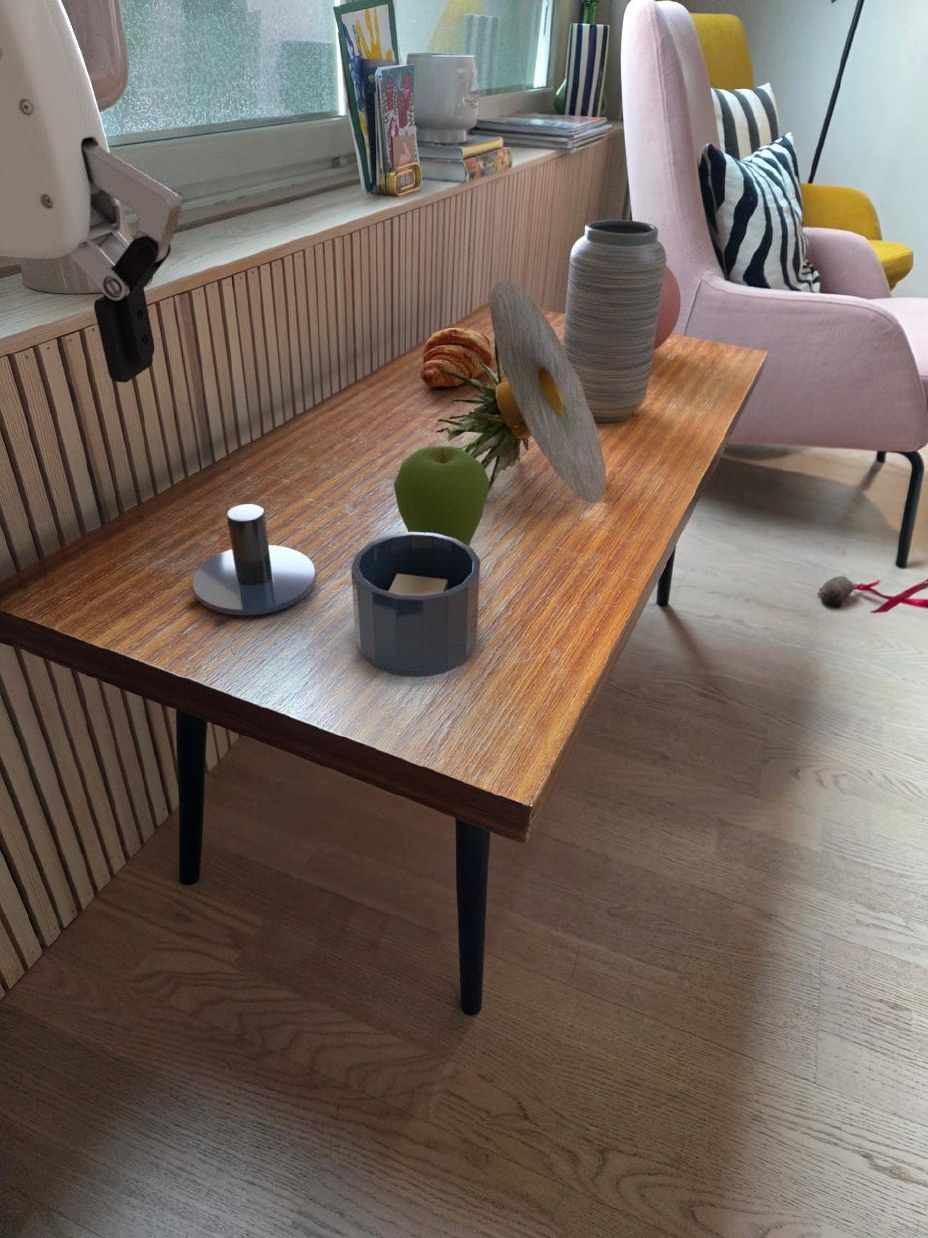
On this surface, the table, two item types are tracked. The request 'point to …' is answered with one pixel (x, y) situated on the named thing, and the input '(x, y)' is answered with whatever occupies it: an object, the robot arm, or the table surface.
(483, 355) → the croissant
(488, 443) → the grey leafy disc
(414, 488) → the apple
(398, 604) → the pot
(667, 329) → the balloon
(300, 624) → the table surface
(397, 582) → the block
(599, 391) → the vase
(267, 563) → the lid
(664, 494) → the table surface
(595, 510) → the table surface
